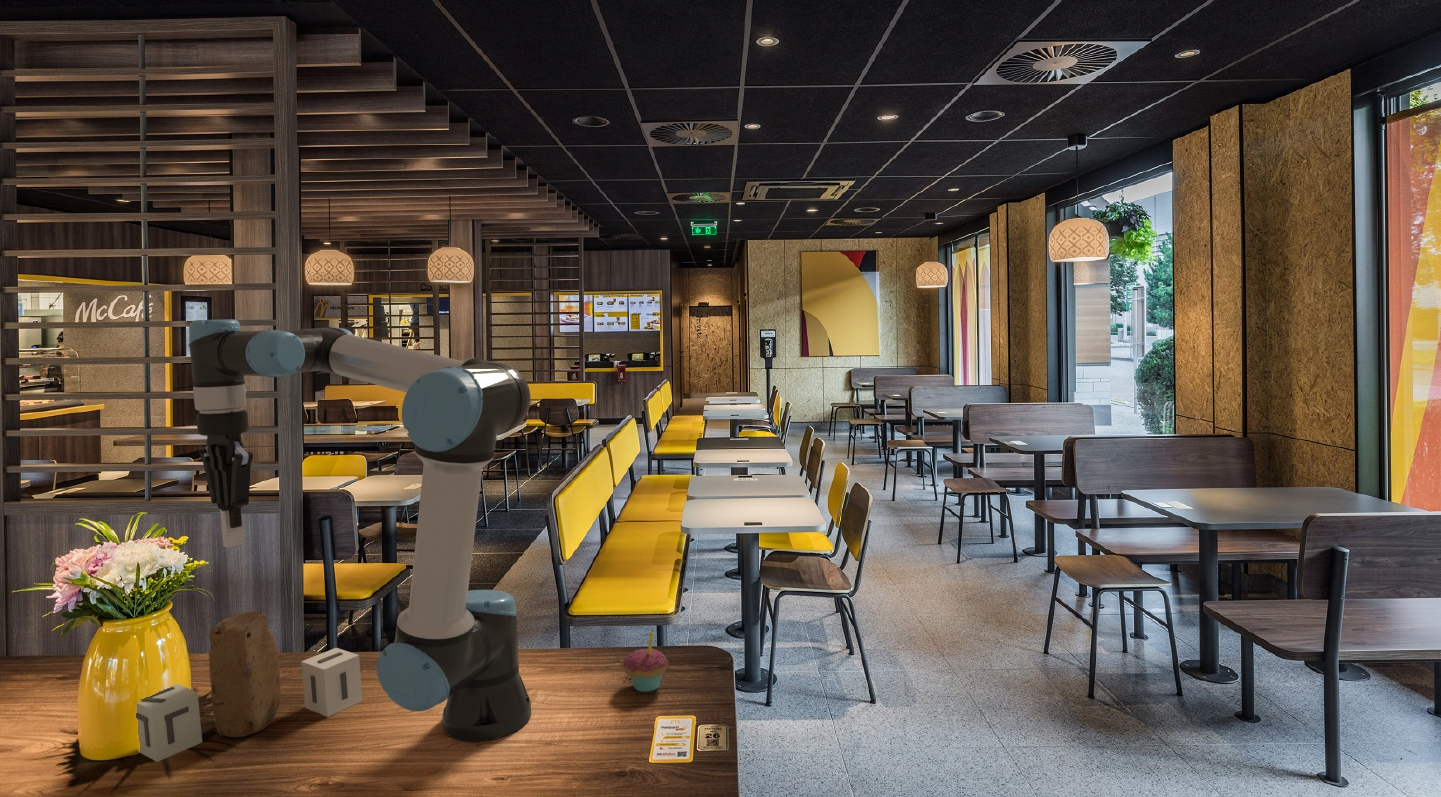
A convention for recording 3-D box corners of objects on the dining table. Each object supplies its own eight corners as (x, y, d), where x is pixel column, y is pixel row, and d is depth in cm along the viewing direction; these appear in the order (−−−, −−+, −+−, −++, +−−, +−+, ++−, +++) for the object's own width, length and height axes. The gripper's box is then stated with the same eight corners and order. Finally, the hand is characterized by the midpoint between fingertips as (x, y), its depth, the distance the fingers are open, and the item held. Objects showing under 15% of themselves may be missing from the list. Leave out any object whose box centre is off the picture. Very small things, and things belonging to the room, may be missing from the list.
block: (251, 741, 140) (241, 628, 138) (210, 740, 141) (199, 628, 138) (289, 710, 151) (280, 605, 149) (251, 709, 151) (241, 605, 149)
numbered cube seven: (203, 742, 140) (197, 691, 139) (156, 763, 134) (150, 709, 133) (181, 732, 144) (176, 681, 143) (135, 751, 138) (129, 699, 137)
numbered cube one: (363, 701, 154) (359, 653, 153) (327, 718, 148) (323, 668, 147) (339, 692, 158) (336, 646, 156) (303, 708, 151) (299, 660, 150)
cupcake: (677, 682, 158) (675, 622, 157) (650, 701, 151) (648, 638, 150) (641, 672, 163) (639, 614, 161) (614, 690, 156) (611, 629, 154)
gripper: (265, 409, 139) (276, 544, 142) (224, 405, 146) (235, 534, 149) (219, 415, 133) (231, 556, 136) (178, 410, 140) (191, 545, 142)
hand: (233, 544), depth 142 cm, fingers closed
